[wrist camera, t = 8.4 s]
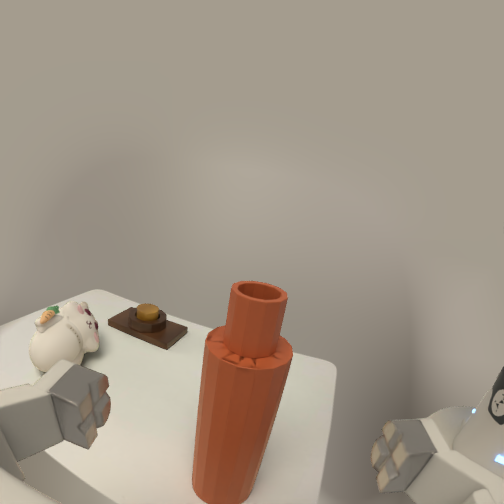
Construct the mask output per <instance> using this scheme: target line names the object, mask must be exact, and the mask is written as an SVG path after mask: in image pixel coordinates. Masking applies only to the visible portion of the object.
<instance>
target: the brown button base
mask: <svg viewBox="0 0 504 504" xmlns="http://www.w3.org/2000/svg"><path fill="white" fill-rule="evenodd" d="M108 325H109V326H111V327H114V328H116V329H118V330H120V331H123V332H125V333H127V334H130V335H132V336H134V337H137V338H139V339H141V340H144V341H146V342H149V343H151V344H154V345H156V346H159V347H161V348H164V349H166V350H167V349H168V348H169V347H171V346H172V345H173V344H174V343H175V342H177V341H178V340H179V339H180V338H181V337H182V336H184V335H185V334H186V333H187V328H188V327H185V326H182V325H180V324H177V323H174V322H171V321H168V320H166V314H165V313H164V312H163V311H162V310H159V316H158V319H157V320H154V321H144V320H141V319H138V318H137V308H133V307H131V308H129V309H127V310H125V311H123V312H121V313H119V314H117V315H116V316H114V317H112V318H110V319H108Z"/></svg>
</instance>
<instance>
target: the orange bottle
mask: <svg viewBox="0 0 504 504" xmlns="http://www.w3.org/2000/svg"><path fill="white" fill-rule="evenodd" d="M287 299H288V298H287V293H286V292H285V291H283V290H282V289H281V288H279V287H276V286H273V285H270V284H267V283H262V282H256V281H240V282H237V283H234V284H233V285H232V288H231V293H230V300H229V306H228V313H227V320H226V325H225V326H221V327H217V328H216V329H214V330H212V331H211V332H209V333H208V335H207V338H206V340H205V348H204V357H203V366H202V375H201V385H200V395H199V405H198V415H197V426H196V437H195V449H194V461H193V475H192V485H193V489H194V491H195V493H196V494H197V496H198V497H199V498H200V499H202V500H203V501H204V502H206V503H208V504H241V503H242V502H244V501H245V500H246V499H247V498H248V496H249V495H250V492H251V490H252V488H253V485H254V482H255V480H256V477H257V474H258V471H259V468H260V465H261V462H262V459H263V456H264V453H265V449H266V446H267V443H268V440H269V437H270V434H271V430H272V427H273V424H274V421H275V417H276V414H277V411H278V407H279V404H280V400H281V397H282V393H283V390H284V386H285V383H286V379H287V376H288V372H289V368H290V365H291V361H292V357H293V351H292V346H291V345H290V344H289V343H288V342H287V340H286V339H285V338H283V337H281V336H280V330H281V326H282V321H283V317H284V313H285V308H286V304H287Z"/></svg>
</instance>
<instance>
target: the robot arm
mask: <svg viewBox="0 0 504 504" xmlns="http://www.w3.org/2000/svg"><path fill="white" fill-rule="evenodd" d="M108 387H109V383H108V377H107V376H106V375H104V374H101V373H99V372H96V371H93V370H91V369H88V368H86V367H83V366H81V365H78V364H75V363H72V362H70V361H68V360H65V359H61V360H59V361H58V362H57V363H56V364H55V365H54V366H52V367H51V368H50V369H49V370H48V371H47V372H46V373H45V374H44V375H43V376H42V377H41V378H40V379H39V380H38V381H36V382H35V383H34V384H33V385H31V384H24V385H20V386H16V387H11V388H7V389H2V390H0V504H62V503H60V502H57V501H56V500H54V499H52V498H50V497H48V496H46V495H45V494H43V493H41V492H39V491H38V490H36V489H34V488H32V487H31V486H29V485H27V484H26V483H24V482H23V481H24V479H25V476H24V473H23V471H22V470H21V468H20V466H19V464H18V461H20V460H23V459H25V458H27V457H29V456H32V455H34V454H36V453H38V452H41V451H43V450H45V449H47V448H49V447H51V446H54V445H56V444H58V443H60V442H62V441H63V439H64V440H66V441H69V442H71V443H73V444H76V445H78V446H81V447H83V448H86V449H88V450H89V448H90V446H91V445H92V443H93V442H94V440H95V439H96V437H97V435H98V434H97V429H96V428H99V427H101V426H104V424H105V423H106V421H107V419H108V416H109V413H110V408H111V401H110V397H109V395H108V394H107V393H106V390H107V388H108ZM382 432H383V435H382V436H381V437H379V438H378V439H376V441H375V443H374V444H373V446H372V450H371V463H372V467H373V468H374V469H375V470H377V471H378V472H379V473H378V474H377V476H376V480H377V483H378V487H379V490H380V493H392V492H402V491H405V492H404V493H405V494H406V495H407V496H408V497H409V498H411V500H413V501H414V502H415V503H416V504H504V367H503V368H502V370H501V372H500V373H499V375H498V376H497V380H496V382H495V383H494V385H493V388H492V389H490V390H488V392H487V393H486V394H485V396H484V397H483V399H482V400H481V402H480V403H479V405H478V406H477V408H476V409H473V411H472V415H471V416H470V417H466V418H465V419H464V420H463V422H462V425H461V430H460V432H459V433H458V434H457V435H456V437H455V439H454V442H453V450H452V451H451V449H450V447H449V445H448V444H447V442H446V440H445V438H444V437H443V435H442V433H441V432H440V430H439V428H438V427H437V425H436V423H435V422H434V420H433V419H431V418H422V419H409V420H389V421H387V422H386V423H385V425H384V427H383V428H382Z"/></svg>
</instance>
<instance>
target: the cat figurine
mask: <svg viewBox="0 0 504 504" xmlns="http://www.w3.org/2000/svg"><path fill="white" fill-rule="evenodd" d="M35 325H36V328H37V331H36V333H35V334H34V335H33V337H32V339H31V342H30V345H29V355H30V359H31V361H32V363H33V364H34V366H35V367H36V368H37V369H39V370H41V371H43V372H47V371H48V370H49V369H50V368H51V367H52V366H54V365H55V364H56V363H57V362H58V361H59V360H61V359H65V360H68V361H70V362H72V363H75V364H78V365H80V364H81V362H82V359H83V356H84V353H87V352H95V351H97V350H98V347H99V335H98V322H97V321H96V320H95V318H94V316H93V315H92V313H91V312H90V311H89V308H88V304H87V303H86V302H82V303H81V304H78V303H77V302H74V301H69V302H67V303H66V304H65V306H63V307H61V308H59V306H54V307H48V308H47V310H46V311H45V312H43V314H42V316H41V317H39V318H38V319H37V320H36V321H35Z"/></svg>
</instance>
